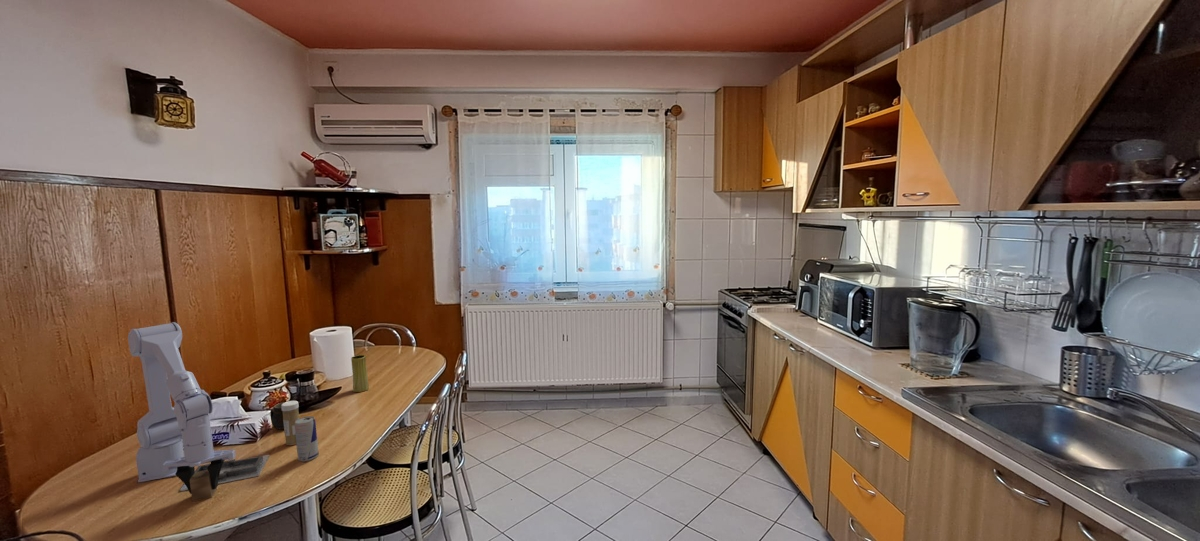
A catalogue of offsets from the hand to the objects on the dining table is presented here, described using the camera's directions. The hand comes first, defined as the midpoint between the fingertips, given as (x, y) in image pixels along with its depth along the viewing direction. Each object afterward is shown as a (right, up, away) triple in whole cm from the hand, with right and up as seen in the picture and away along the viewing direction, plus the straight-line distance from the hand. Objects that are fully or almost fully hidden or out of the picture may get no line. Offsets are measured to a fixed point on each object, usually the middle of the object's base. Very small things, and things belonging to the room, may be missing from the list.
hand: (204, 489), depth 124 cm
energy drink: (+16, +1, +19) cm, 25 cm away
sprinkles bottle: (+5, +2, +28) cm, 29 cm away
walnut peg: (0, -2, 0) cm, 2 cm away
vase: (+4, +8, +73) cm, 74 cm away
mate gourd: (-5, +3, +40) cm, 41 cm away
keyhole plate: (-2, 0, +11) cm, 12 cm away
